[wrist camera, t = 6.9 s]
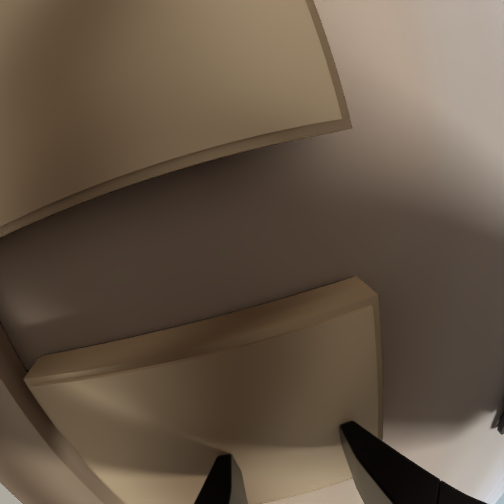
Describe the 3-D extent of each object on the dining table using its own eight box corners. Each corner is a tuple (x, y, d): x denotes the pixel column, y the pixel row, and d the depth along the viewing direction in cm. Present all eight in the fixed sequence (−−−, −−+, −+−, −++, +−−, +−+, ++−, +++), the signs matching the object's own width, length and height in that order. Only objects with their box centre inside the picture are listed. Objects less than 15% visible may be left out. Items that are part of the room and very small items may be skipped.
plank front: (252, -90, 5) (258, -118, 3) (331, 132, 7) (354, 127, 5) (-36, 27, 4) (-61, 18, 3) (-9, 242, 6) (-38, 255, 5)
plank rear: (356, 276, 8) (379, 296, 7) (369, 444, 10) (382, 469, 8) (40, 356, 7) (21, 381, 6) (141, 493, 9) (137, 517, 8)
